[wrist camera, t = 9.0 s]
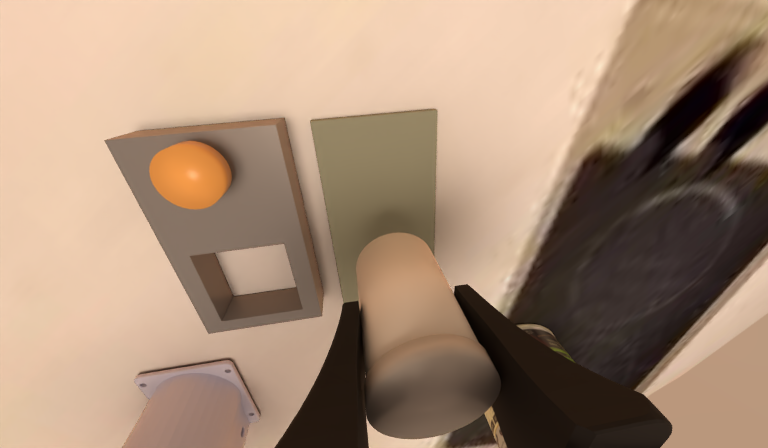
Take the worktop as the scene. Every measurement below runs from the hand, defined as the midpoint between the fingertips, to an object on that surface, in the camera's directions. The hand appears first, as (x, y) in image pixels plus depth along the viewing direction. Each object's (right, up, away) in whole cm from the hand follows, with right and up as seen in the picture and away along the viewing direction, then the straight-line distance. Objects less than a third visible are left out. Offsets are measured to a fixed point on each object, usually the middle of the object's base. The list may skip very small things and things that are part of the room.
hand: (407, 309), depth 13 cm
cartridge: (0, +2, +3) cm, 3 cm away
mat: (-1, +4, +8) cm, 9 cm away
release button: (-11, +8, +3) cm, 13 cm away
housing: (-10, +4, +6) cm, 13 cm away
